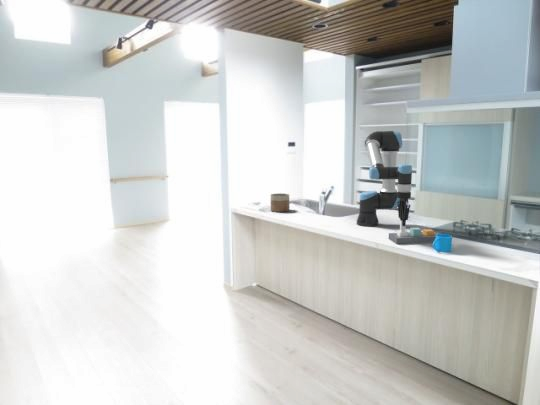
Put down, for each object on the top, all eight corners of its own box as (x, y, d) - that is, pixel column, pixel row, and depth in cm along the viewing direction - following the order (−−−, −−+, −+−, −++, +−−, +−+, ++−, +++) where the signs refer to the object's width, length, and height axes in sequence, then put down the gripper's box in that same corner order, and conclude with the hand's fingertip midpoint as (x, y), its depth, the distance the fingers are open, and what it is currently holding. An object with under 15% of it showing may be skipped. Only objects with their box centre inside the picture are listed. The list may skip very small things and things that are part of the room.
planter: (279, 213, 326) (279, 196, 324) (266, 210, 338) (266, 194, 335) (293, 210, 337) (293, 194, 334) (280, 208, 348) (280, 192, 346)
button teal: (409, 234, 238) (410, 227, 237) (417, 233, 238) (417, 227, 238) (413, 236, 233) (413, 229, 232) (421, 235, 233) (421, 229, 233)
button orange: (422, 235, 239) (422, 229, 238) (430, 235, 239) (430, 229, 238) (426, 237, 234) (426, 231, 233) (434, 237, 234) (434, 231, 234)
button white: (396, 237, 237) (397, 230, 237) (404, 236, 238) (404, 230, 237) (400, 239, 233) (400, 232, 232) (408, 238, 233) (408, 232, 232)
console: (388, 238, 241) (388, 233, 240) (432, 237, 243) (433, 231, 243) (396, 244, 229) (396, 238, 228) (442, 242, 232) (443, 236, 231)
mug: (442, 247, 221) (442, 233, 220) (454, 251, 214) (455, 236, 213) (426, 250, 216) (427, 235, 214) (439, 254, 209) (440, 239, 207)
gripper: (393, 190, 237) (392, 228, 240) (402, 193, 224) (401, 233, 228) (405, 189, 237) (404, 228, 241) (415, 192, 224) (413, 233, 228)
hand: (402, 230), depth 234 cm, fingers closed
